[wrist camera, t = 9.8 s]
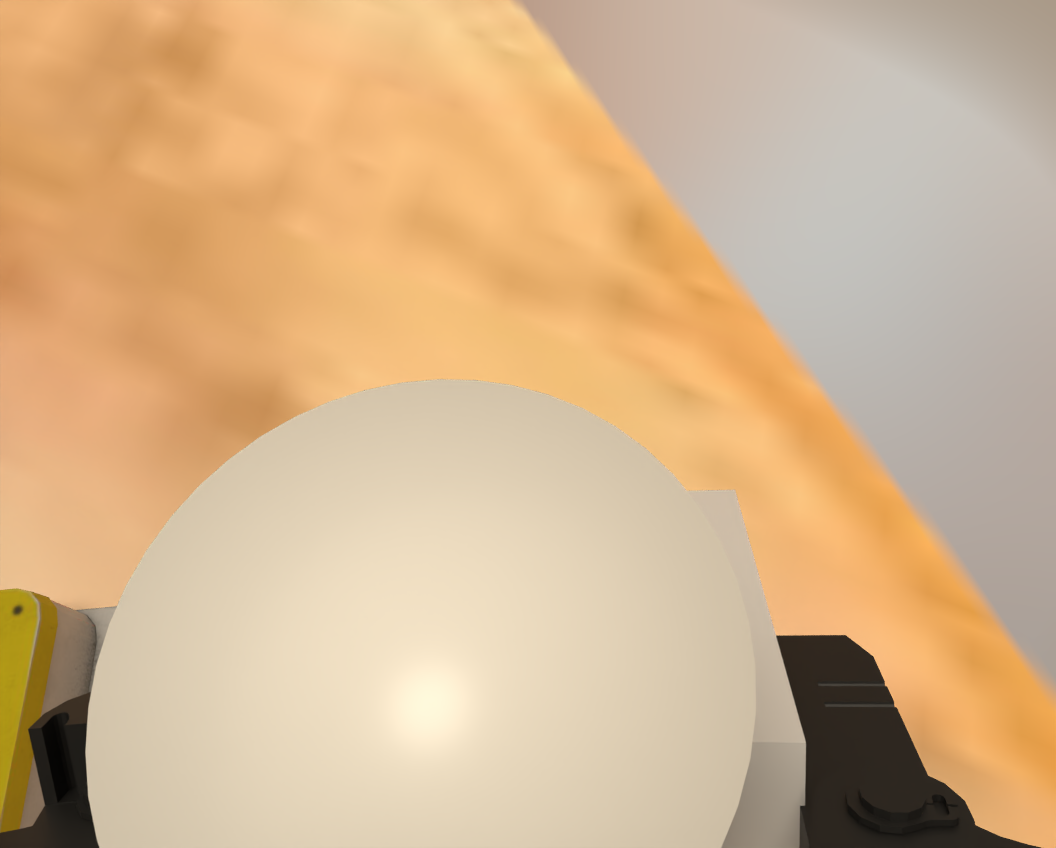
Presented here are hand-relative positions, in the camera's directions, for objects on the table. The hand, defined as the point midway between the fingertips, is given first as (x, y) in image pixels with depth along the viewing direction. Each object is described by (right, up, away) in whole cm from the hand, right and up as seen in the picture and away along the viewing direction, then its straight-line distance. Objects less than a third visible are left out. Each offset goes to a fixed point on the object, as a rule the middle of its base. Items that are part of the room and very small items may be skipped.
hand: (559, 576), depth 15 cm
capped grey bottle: (0, -5, +1) cm, 5 cm away
